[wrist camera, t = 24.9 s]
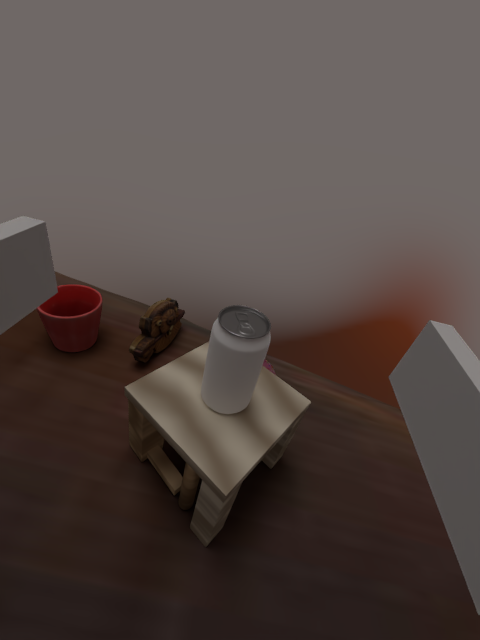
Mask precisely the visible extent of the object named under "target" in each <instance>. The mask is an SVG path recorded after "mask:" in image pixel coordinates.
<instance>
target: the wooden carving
mask: <svg viewBox="0 0 480 640" xmlns="http://www.w3.org/2000/svg"><path fill="white" fill-rule="evenodd" d="M184 313H185V311H184V310H181V309H178V303H177V301H175V300H171V299H170V298H167V299H166V300H161V301H158V302H156V303H154V304H153V305H152V306H151V307H150V308H149V309H148V310H147V312H146V313H145V315H144V316H142V317H141V318H140V323H139V328H140V329H141V331H142V334H141V335H139V336H138V337H137V338H136V339H135V340H134V341H133V342H132V344H131V346H130V348H129V351H130V353H132V354H133V355H134V358H135V360H137V361H142V362H144V363H146V362H147V361H148V360H149V358H150V357H151V355H152V354H153V353H158V352H161V351H162V350H164V349H165V348H166V347H167V346H168V345H169V344H170V343H171V341H172V340H173V339H174V337H175V336H176V334H177V332H178V331H179V329H180V327H181V322H180V319H181V318H182V317H183V315H184Z"/></svg>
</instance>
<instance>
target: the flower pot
mask: <svg viewBox="0 0 480 640" xmlns="http://www.w3.org/2000/svg"><path fill="white" fill-rule="evenodd" d="M57 289H58V293H56V294H55V295H54V296H52V297H51V298H50V299H48V300H47V301H45V302H44V303H43V304H41V305H40V306H39V307H37V311H38V313H39V316H40V318H41V320H42V322H43V324H44V326H45V329H46V331H47V333H48V334H49V336H50V338H51V340H52V342H53V344H54V346H55V347H56V348H58V349H59V350H62V351H65V352H79V351H83V350H86V349H88V348H90V347H91V346H93V345H94V344H95V342H96V340H97V336H98V330H99V324H100V317H101V310H102V296H101V294H100V293H99V292H98V291H96V290H95V289H93V288H91V287H88V286H83V285H61V286H57Z"/></svg>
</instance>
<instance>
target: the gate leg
mask: <svg viewBox="0 0 480 640" xmlns="http://www.w3.org/2000/svg"><path fill="white" fill-rule="evenodd" d="M128 406H129V444H130V446H131V447H132V449H133V450H134V452H135V453H136V455H137V456H138V458H139V459H140V461H141V462H143V461H144V460H146V459H147V458H148V459H149V460H150V462H151V463H152V465H153V466H154V468H155V469H156V470H157V472H158V473H159V475H160V476H161V478H162V479H163V480H164V482H165V483H166V485H167V486H168V488H169V489H170V491H171V492H172V493H173V495H176V494H177V493H178V492H179V491H180V496H179V501H178V503H179V506H180V508H181V509H183V510H188V509H190V508H191V507H192V506H193V503H194V499H195V495H196V491H197V487H198V483H199V479H200V477H199V476H198V475H197V474H196V472H195V471H194V470H193V469H192V468H191V467H190V466H189V465H188V464H187V463H186V464H185V469H184V474H183V477H182V475H181V474H180V473H179V471H178V470H177V469H176V467H175V466H174V465H173V463H172V462H171V461H170V459H169V458H168V457H167V455H166V454H165V453H164V451H163V450H162V448H163V442H164V437H163V436H162V435H161V434H160V433H159V432H158V431H157V430H156V429H155V428H154V426H153V425H152V424H151V423H150V422H149V421H148V420H147V419H146V418H145V417H144V416H143V414H142V413H141V412H140V411H139V410H138V409H137V408H136V407H135V406H134V405H133V403H132V402H131V401H130V400H129V399H128Z"/></svg>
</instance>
